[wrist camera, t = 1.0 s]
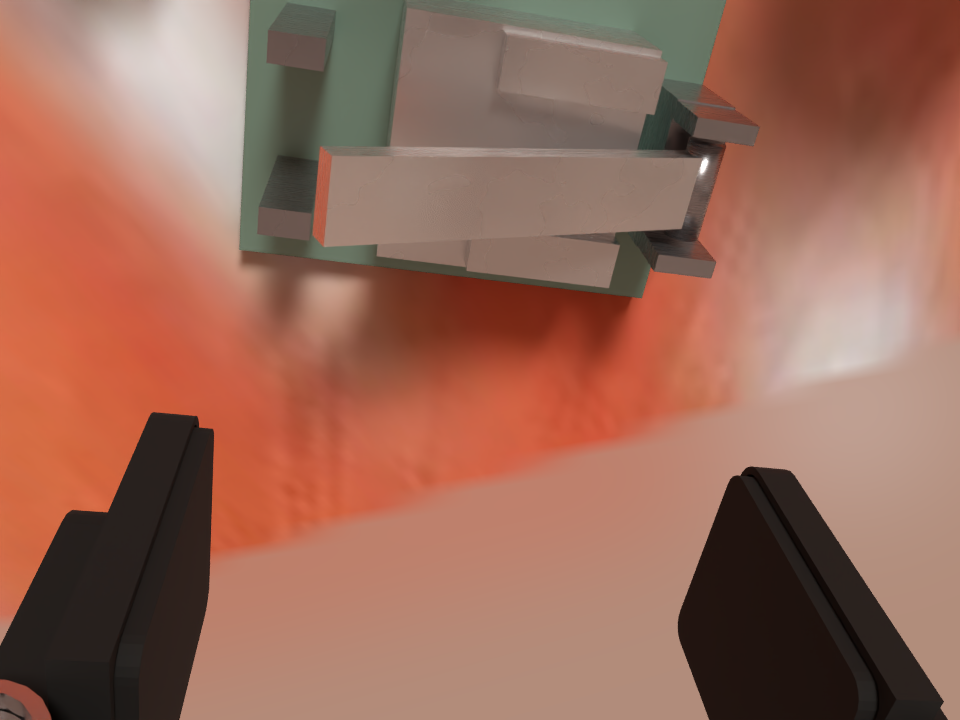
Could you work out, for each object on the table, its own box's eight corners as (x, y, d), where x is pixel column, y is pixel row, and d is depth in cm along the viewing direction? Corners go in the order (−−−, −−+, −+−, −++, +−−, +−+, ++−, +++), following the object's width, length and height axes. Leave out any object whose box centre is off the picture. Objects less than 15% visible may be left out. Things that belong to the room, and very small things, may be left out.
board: (721, -19, 31) (730, -16, 30) (635, 287, 37) (641, 298, 36) (258, -105, 29) (254, -104, 28) (242, 239, 34) (239, 249, 33)
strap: (708, 136, 29) (733, 148, 28) (681, 227, 31) (705, 240, 30) (318, 127, 22) (336, 142, 21) (308, 246, 24) (325, 264, 23)
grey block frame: (713, 44, 31) (775, 79, 26) (654, 252, 35) (698, 317, 30) (289, -29, 29) (269, -6, 24) (274, 203, 33) (254, 264, 28)
